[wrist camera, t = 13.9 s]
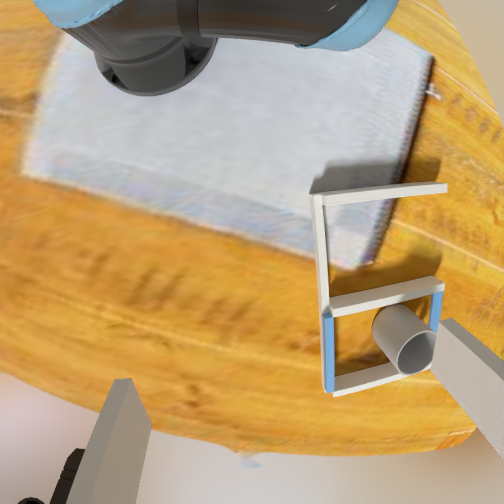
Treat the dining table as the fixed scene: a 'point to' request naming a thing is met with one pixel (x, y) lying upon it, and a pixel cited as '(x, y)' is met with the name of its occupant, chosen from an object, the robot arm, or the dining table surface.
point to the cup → (404, 339)
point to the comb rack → (367, 297)
